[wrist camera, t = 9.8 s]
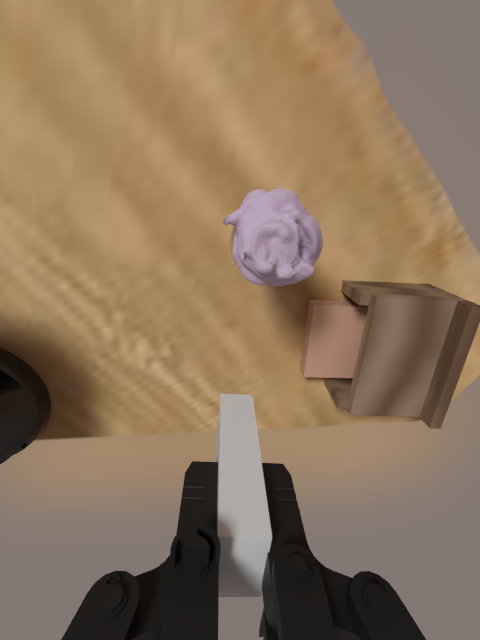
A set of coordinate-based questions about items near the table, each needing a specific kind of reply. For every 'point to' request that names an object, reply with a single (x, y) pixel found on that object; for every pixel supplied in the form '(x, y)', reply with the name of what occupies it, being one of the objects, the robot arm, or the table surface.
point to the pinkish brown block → (332, 338)
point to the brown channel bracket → (407, 351)
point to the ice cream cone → (274, 238)
